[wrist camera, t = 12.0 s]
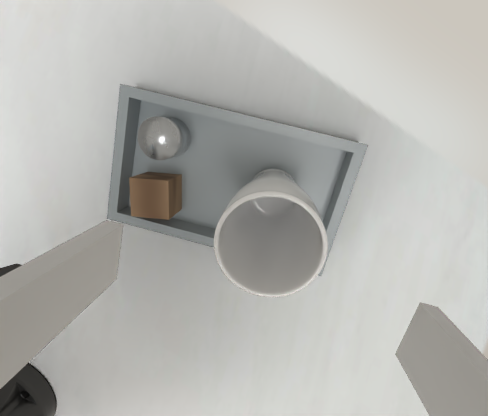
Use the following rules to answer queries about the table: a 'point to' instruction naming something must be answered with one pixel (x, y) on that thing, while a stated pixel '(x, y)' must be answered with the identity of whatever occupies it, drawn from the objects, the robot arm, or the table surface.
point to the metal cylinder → (163, 137)
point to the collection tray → (226, 163)
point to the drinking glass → (271, 236)
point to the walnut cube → (155, 195)
